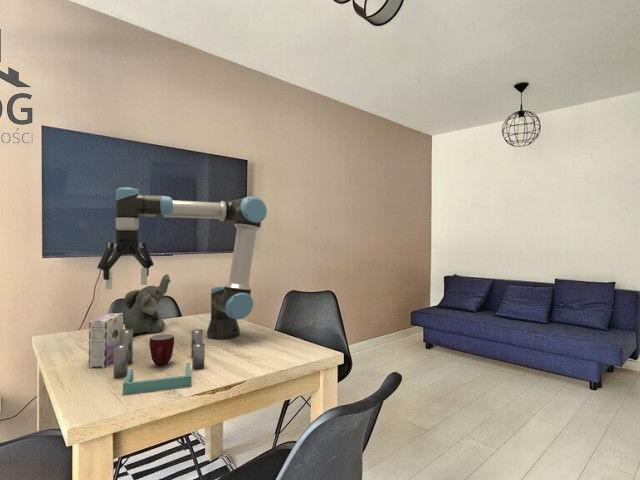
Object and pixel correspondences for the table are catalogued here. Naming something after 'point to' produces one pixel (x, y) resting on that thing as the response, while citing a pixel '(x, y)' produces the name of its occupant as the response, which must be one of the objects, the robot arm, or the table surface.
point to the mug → (161, 349)
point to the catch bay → (155, 383)
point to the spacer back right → (127, 342)
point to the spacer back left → (196, 337)
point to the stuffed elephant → (145, 308)
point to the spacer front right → (120, 361)
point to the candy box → (104, 339)
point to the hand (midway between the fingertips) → (127, 286)
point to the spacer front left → (198, 356)
